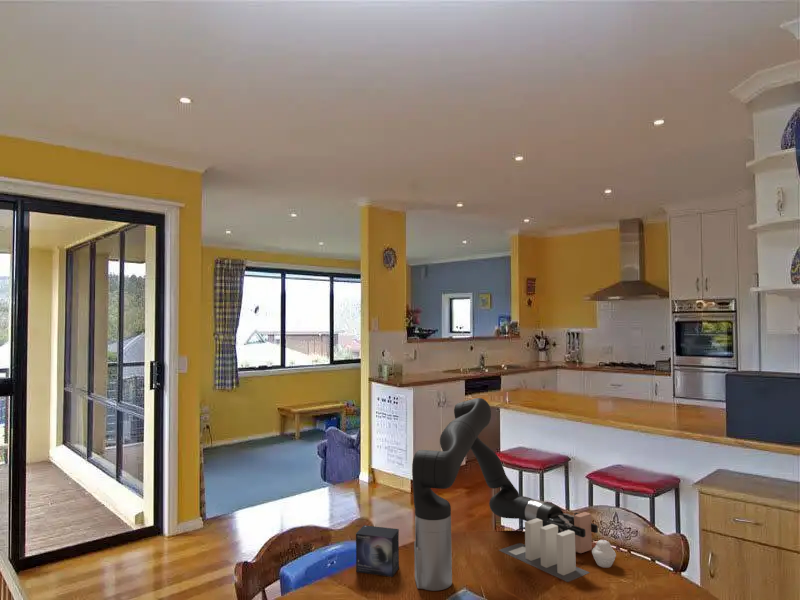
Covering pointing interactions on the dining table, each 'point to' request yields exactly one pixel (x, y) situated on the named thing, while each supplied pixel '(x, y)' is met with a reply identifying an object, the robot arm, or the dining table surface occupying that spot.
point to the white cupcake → (603, 554)
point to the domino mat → (520, 554)
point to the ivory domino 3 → (566, 552)
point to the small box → (377, 550)
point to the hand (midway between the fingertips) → (590, 531)
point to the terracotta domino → (585, 522)
